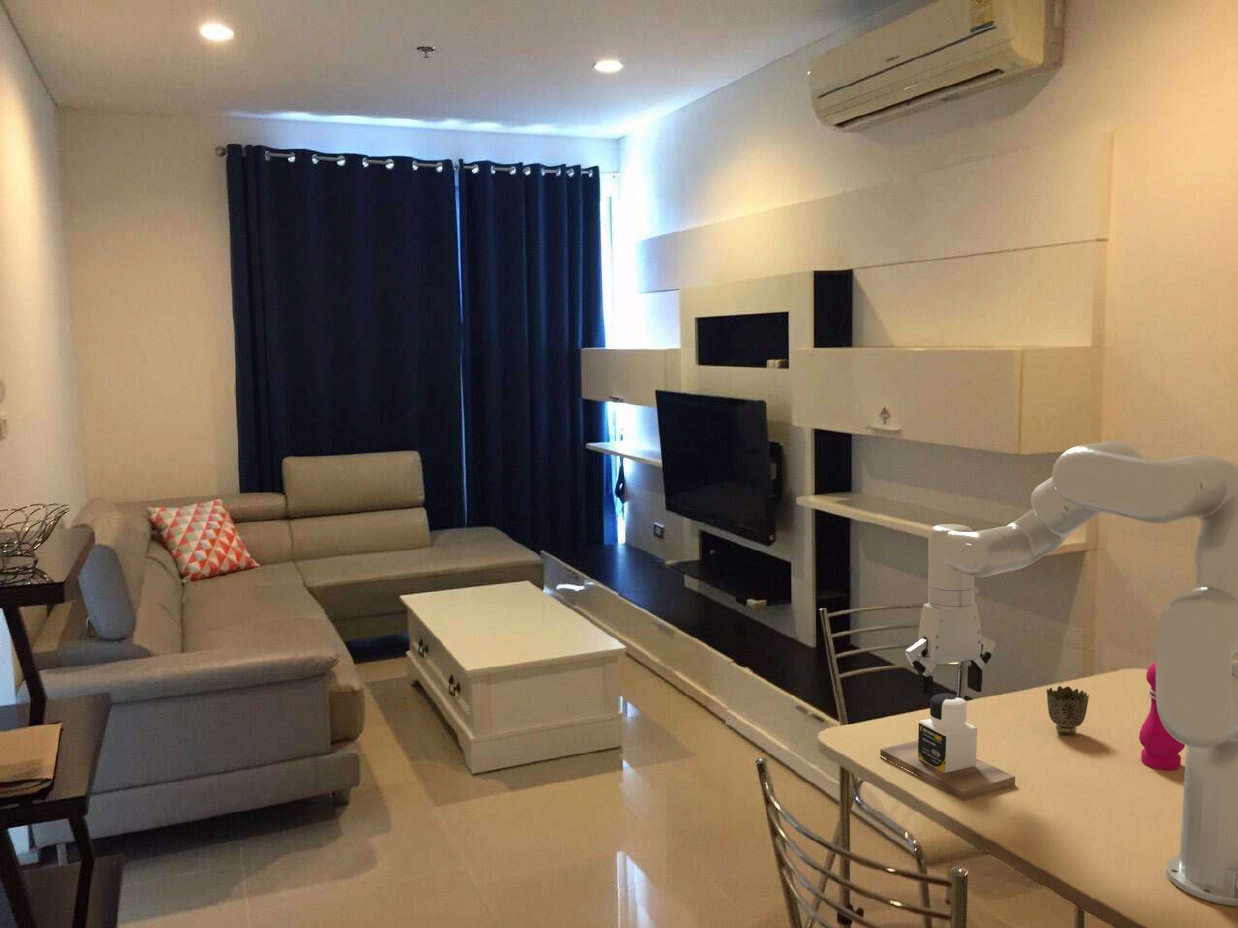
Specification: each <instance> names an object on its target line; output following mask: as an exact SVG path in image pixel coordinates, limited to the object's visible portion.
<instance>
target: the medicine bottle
mask: <svg viewBox="0 0 1238 928" xmlns="http://www.w3.org/2000/svg"><path fill="white" fill-rule="evenodd" d="M929 700H930V701H929V703H930V704H929V705H930V706H929V718H927V719H921V720H919V721H918V733H917V734H918V739H917V740H918V759H920V760H921V761H923V762H925V763H927V764H929V765H930V766H932V767H934V768H936V769H938V770H939V771H941V772H943V773H949V772H953V771H958V770H962V769H966V768H971V767H975V766H976V759H977V748H978V746H977V745H978V742H977V741H978V728H977V727H976V726H974V725H972V724H970V723H967V709H968V708H967V706H968V703H967V701H966V700H965V699H964V697H961V696H959V695H957V694H955V693H954V694H952V693H946V692H945V693H939V694H935V695H934V694H933V698H932V699H929Z"/></svg>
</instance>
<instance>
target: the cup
mask: <svg viewBox="0 0 1238 928" xmlns="http://www.w3.org/2000/svg"><path fill="white" fill-rule="evenodd" d="M1046 696H1047V697H1046V698H1047V701H1046V703H1047V708H1048V714H1049V718H1050V719H1051V721H1052V722H1053V723H1054V724H1055V725H1056V726H1055V730H1056V731H1057V732H1058V733H1059V734H1061V735H1064V736H1072V735H1075V734H1076V733H1077V729H1078V728H1077V727H1079V726H1081V725H1082V724H1083V723H1084V721H1085V718H1086V715H1087V710H1088V704H1089V699H1090V694H1087V691H1085V692H1084V690H1083V689H1082V690H1081V691H1079V690H1078V688H1075V689H1074V690H1073V689H1072V688H1071V687H1070V686H1065V687H1062V686H1061V685H1058V687H1057V688H1056V690H1054V689H1053V688H1052V687H1049V689H1046Z"/></svg>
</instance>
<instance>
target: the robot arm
mask: <svg viewBox="0 0 1238 928" xmlns="http://www.w3.org/2000/svg"><path fill="white" fill-rule="evenodd" d="M1051 473H1052V474H1051V477H1049V478H1048V479H1046V480H1045V481H1043V482H1042V483H1041V484H1039V485H1038V486H1036V487H1035V488H1034V489H1033V490H1032V493H1031V496H1030V503H1031V507H1032V509H1030V510H1029V511H1028V512H1026V513H1025V514H1023V515H1022V516H1021V517H1019V518H1018V519H1016V520H1015V521H1013V522H1011V523H1009V524H1008V525H1004V526H998V527H994V528H987V529H984V530H976V531H973V528H971V527H970V526H968V525H965V524H957V523H956V524H955V523H947V524H946V523H943V524H942V523H941V524H937V525H934V526H932V527H931V528H930V529H929V532H928V549H927V551H928V552H927V553H928V554H927V555H928V560H927V561H928V564H927V566H928V571H927V572H928V575H927V577H928V579H927V580H928V583H927V585H928V587H927V590H928V591H927V596H928V597H927V599H928V600H927V601H928V602H927V603H924V604H923V606H922V610H921V614H920V619H919V628H918V629H919V630H918V639H917V642H915V643H914V644H913V645H911V646H909V647H907V649H905V651H904V654H905V657H906V659H907V661H908V663H909V665H910V666H911V667H912V668H913V669H914V671H915V672H916V673H918V674H917V677H918V679H917V680H918V682H917V683H918V686H917V687H918V689H917V690H918V693H919V695H920V696H922V697H924V698H926V699H928V700H930V699H932V698H933V696H934V678H933V676H932V675H930V674H931V673H932V672H933V671H934V669H935V668H936V666H937V665H946V664H953V663H954V664H955V663H963V662H969V664H967V672H966V673H967V675H966V676H967V679H966V681H967V685H966V686H967V688H969V689H971V690H972V691H975V692H977V693H982V689H983V688H982V685H983V670H985V668H986V666H987V663H988V662H989V660H991V658H992V654H993V651H994V649H995V647H996V643H997V642H995V641H994V640H992V639H989V638H987V637H985V636H983V635H982V629H981V621H980V620H981V619H980V614H979V608H978V604H977V603H975V596H978V595H979V594H980V589H979V588H978V587H975V578H987V577H990V576H991V577H992V576H995V575H999V574H1004V573H1007V572H1013V571H1017V570H1020V569H1023V568H1026V567H1028V566H1029V565H1031V564H1033V563H1035V562H1037V561H1038V560H1040V559H1041V558H1043V557H1044V556H1046V555H1048V554H1049V553H1051V552H1053V551H1054V550H1056V549H1058V547H1060V546H1061V545H1062V544H1063V543H1064V542H1065V541H1066V540H1067V539H1068V538H1069V536H1070V535H1071V534H1072V533H1073V532H1074V531H1075V530H1078V529H1079V528H1080V527H1081V526H1084V525H1085V524H1086V523H1089V521H1091V520H1092V519H1095V517H1098V515H1100V514H1102V513H1106V514H1110V515H1113V516H1117V517H1118V516H1119V517H1121V518H1126V519H1131V520H1134V521H1139V522H1143V523H1149V524H1172V523H1176V522H1181V521H1184V520H1185V521H1186V520H1191V519H1194V518H1197V519H1199V521H1200V529H1199V531H1198V535H1197V538H1196V542H1195V546H1194V551H1193V563H1194V564H1193V566H1194V572H1193V573H1194V574H1193V576H1194V577H1193V586H1192V590H1191V591H1190V592H1186V593H1183V594H1180V595H1179V596H1177V597H1175V598H1173V599H1172V600H1170V601H1169V602H1168V603H1167V604H1166V606H1164V608H1163V609H1162V611H1161V613H1160V615H1159V618H1158V620H1157V624H1156V629H1155V663H1156V704H1157V711H1158V714H1159V717H1160V720H1161V722H1162V724H1163V726H1164V728H1165V729H1166V730H1167V732H1168V733H1169V734H1170V735H1171V736H1172V737H1173V738H1174V739H1176V740H1177V741H1179V742H1180V743H1182V744H1184V745H1185V746H1186V753H1185V754H1186V755H1185V762H1184V763H1185V765H1184V766H1185V767H1184V778H1183V780H1184V781H1183V793H1182V794H1183V795H1182V796H1183V797H1182V810H1181V811H1182V812H1181V830H1180V846H1179V849H1180V850H1179V854H1177V855H1175V856H1172V857H1171V858H1170V859H1168V861H1167V862H1166V875H1167V877H1168V879H1169V880H1170V881H1171V882H1172V883H1173V884H1174V885H1175V886H1177V887H1178V888H1179V889H1181V890H1182V891H1184V892H1185V893H1187V894H1189V895H1192V896H1194V897H1196V898H1199V899H1202V900H1204V901H1206V902H1207V901H1208V902H1211V903H1215V904H1219V905H1226V906H1233V907H1238V660H1237V659H1235V660H1233V658H1235V657H1238V465H1237V464H1235V463H1233V462H1232V461H1230V460H1227V459H1224V458H1222V457H1218V456H1214V455H1213V456H1212V455H1204V454H1200V455H1198V454H1196V455H1187V456H1185V455H1184V456H1179V457H1174V458H1168V459H1161V460H1150V459H1147V458H1145V459H1144V458H1143V456H1142V455H1141V454H1140V453H1139V451H1137V450H1136V449H1135V448H1133V447H1132V446H1130V445H1128V444H1125V443H1122V442H1117V441H1104V442H1097V443H1090V444H1082V445H1076V446H1074V447H1071V448H1069V449H1068V450H1065V451H1064V452H1063V453H1061V455H1060V456H1059V457H1058V458H1057V460H1056V461H1055V463H1054V465H1053V468H1052V472H1051ZM982 645H983V646H982ZM918 657H920V658H921V659H920V660H919V658H918Z"/></svg>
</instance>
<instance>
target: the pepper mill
mask: <svg viewBox="0 0 1238 928" xmlns="http://www.w3.org/2000/svg"><path fill="white" fill-rule="evenodd" d="M1145 677H1146V681H1147V683H1148V684H1149V685H1150V686H1149V688H1148V693H1147V694H1148V697H1149V698H1150V709H1149V713H1148V714H1147V717H1146V718H1145V720H1144V721H1143V724H1142V725H1141V727H1140V730H1139V736H1138V740H1139V742H1140V744H1141V745H1142V747H1143V749H1142V750H1141V753H1140V755H1141V756H1140V760H1141V761H1140V762H1142V764H1144V765H1146V766H1147V767H1150V768H1153V769H1157V770H1162V771H1174V770H1175V771H1176V770H1178V769H1179V768H1181V764H1182V763H1181V762H1182V756H1181V755H1180V754H1179V753H1181V752H1182V751H1183V750H1184V748H1185V746H1186V745H1184V744H1182V743H1180V742H1179V741H1177V740H1176V739H1174V738H1173V737H1172V736H1171V735H1170V734H1169V733H1168V732H1167V730H1166V729H1165V728H1164V726H1163V724H1162V722H1161V720H1160V717H1159V714H1158V711H1157V704H1156V662H1154V663H1152V664H1151V665H1150V666H1149V667H1148V668H1147V671H1146V675H1145Z"/></svg>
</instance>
